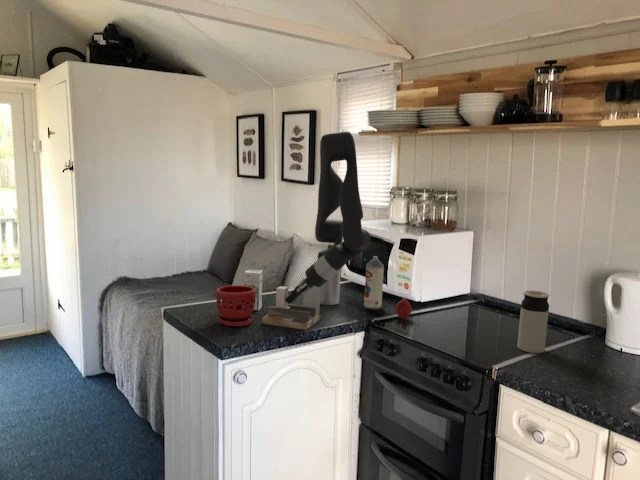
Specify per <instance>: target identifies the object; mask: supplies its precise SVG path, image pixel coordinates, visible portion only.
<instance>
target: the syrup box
mask: <svg viewBox="0 0 640 480" xmlns="http://www.w3.org/2000/svg"><path fill="white" fill-rule="evenodd" d="M243 286H249V287H253V288H255V290H256V298H255V306H254V310H253V312H254V311H255V312H256V311H257V312H259V311H260V310H261V308H262V306H263V304H262V302H263V298H262V296H263V269H246V270H245V272H244V285H243Z"/></svg>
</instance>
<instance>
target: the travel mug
mask: <svg viewBox="0 0 640 480" xmlns="http://www.w3.org/2000/svg"><path fill="white" fill-rule="evenodd" d="M523 296H524V297H523V299H522V300H521V303H520V304H521V305H520V314H519V325H518V335H517V336H518V337H517V345H516V347H517V349H519V350H521V351H522V352H526V353H530V354H531V353H532V354H541V353H544V352H545V350H546V349H545V347H546V340H547V339H546V337H547V331H548V328H547V327H548V319H549V312H550V304H549V301H548V299H549V297H550V294H549V293H547V292H544V291H539V290H524V291H523Z"/></svg>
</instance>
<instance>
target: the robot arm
mask: <svg viewBox="0 0 640 480" xmlns="http://www.w3.org/2000/svg"><path fill="white" fill-rule="evenodd" d="M319 144H320V145H319V158H320V159H319V167H320V169H319V171H320V172H319V180H318V181H319V183H318V194H317V195H318V197H317V213H316V221H315V227H314V228H315V229H314V230H315V231H314V236H315V239H316V241H317V242H319V243H326V244H327V243H328V244H333V245H332V246H330V247H328V248H326V249H324V250H323V249H322V250H321V251H319V252H318V253H317V260H316V261H315V262H313V263H312V264H311V265H310V266H309V267H308V268H307V269H306V270H305V272H304V273H305V274H304V275H305V276H306V277H305V278H303V279H302V280H301V281H299V284H298V285H296V286H295V287H294V289H293V290H292V291H291V292H290V294H288V297H287V298H286V299H285V300H286V302H287V303H288V304H293V302H295V300H296V299H298V298H300V297H301V296H304V293H306V292H307V291H308V290H310V289H311V288H313V287H314V286H316V287H320V305H324V306H334V305H338V304H339V303H340V293H341V292H340V289H341V269H342V268H343V267H344V266H345V265H347V263H349V261H351V260H352V259H354V258H356V257H357V256H359V254H361V253H363V252H364V251H365V250H366V249H367V248H368V247H369V246H370V244H371V241H372V238H371V234H370V233H369V231H367V230H366V229H363V227H362V219H363V218H364V212H363V206H362V202H361V201H362V200H361V197H360V190H359V189H360V188H359V177H358V176H359V175H358V164H357V163H358V162H357V148H356V144H355V139H354V137H353V134H352V133H351V132H350V131H340V132H331V133H327V134H324V135H322V136H321V139H320V142H319ZM339 161H345V162H346V173H345V176H344V179H342V178H341V177H340V175H339V174H338V173H337V172H336V171H335V169H334V168H333V166H332V163H333V162H339ZM337 209H340V214H341V218H342V220H341V219H335V218H334V219H332V218H331V219H330V218H329V216H331V215H333V213H334V212H335V211H336V210H337Z"/></svg>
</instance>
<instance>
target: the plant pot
mask: <svg viewBox="0 0 640 480" xmlns="http://www.w3.org/2000/svg"><path fill="white" fill-rule="evenodd" d="M215 291H216V293H215V295H216V296H215V297H216V306H217V309H218V313H219V315H220V316H219V317H218V321H219V323H221V324H222V325H224V326H228V327H246V326H247V325H250V324H251V323H252V322H253V321H254V316H253V315H252V314H253V312H254V311H253V310H254V306H255V298H256V290H255V288H253V287H249V286H244V285H226V286H221V287H218V288H217V289H216V290H215ZM221 302H222V303H221Z"/></svg>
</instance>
